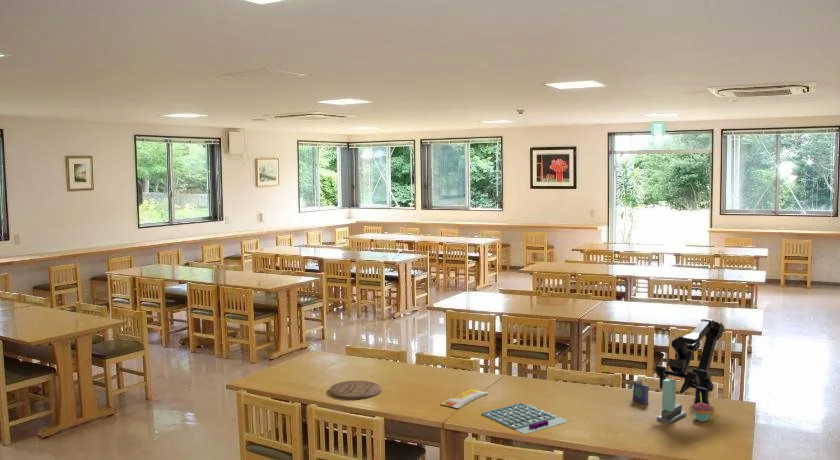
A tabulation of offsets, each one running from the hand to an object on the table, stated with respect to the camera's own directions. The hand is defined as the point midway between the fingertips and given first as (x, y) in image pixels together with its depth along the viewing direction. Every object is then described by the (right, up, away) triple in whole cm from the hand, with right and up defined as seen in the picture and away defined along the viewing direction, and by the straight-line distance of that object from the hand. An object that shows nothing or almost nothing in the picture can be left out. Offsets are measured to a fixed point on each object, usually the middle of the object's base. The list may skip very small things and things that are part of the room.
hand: (670, 391), depth 308 cm
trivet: (-141, -9, +39) cm, 147 cm away
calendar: (-63, -13, +2) cm, 64 cm away
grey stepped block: (+1, -12, +2) cm, 13 cm away
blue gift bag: (-6, -10, +24) cm, 26 cm away
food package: (-88, -11, +27) cm, 93 cm away
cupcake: (+14, -13, +1) cm, 19 cm away
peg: (-1, -8, 0) cm, 8 cm away
